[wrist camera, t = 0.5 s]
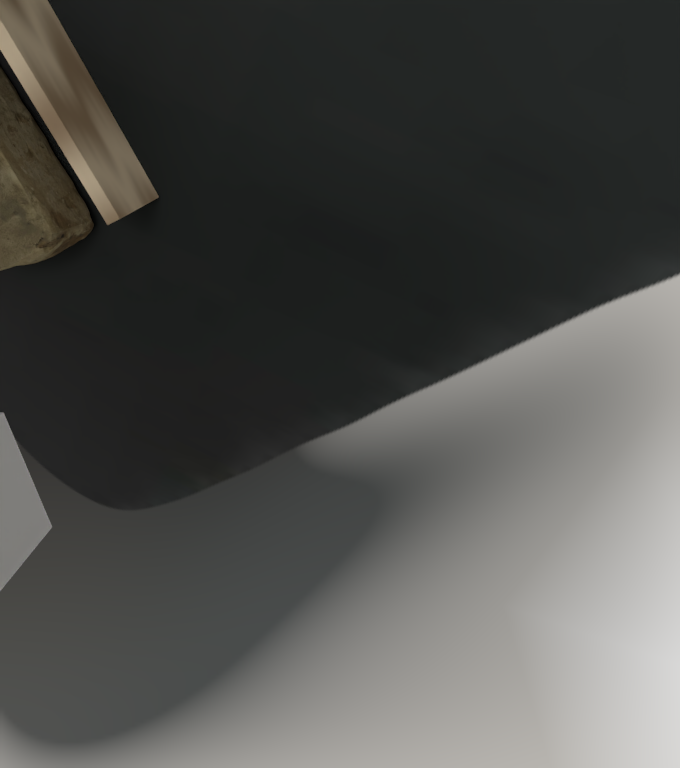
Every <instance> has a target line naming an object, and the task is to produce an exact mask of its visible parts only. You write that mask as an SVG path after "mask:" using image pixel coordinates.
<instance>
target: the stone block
mask: <svg viewBox="0 0 680 768" xmlns="http://www.w3.org/2000/svg"><path fill="white" fill-rule="evenodd" d="M93 227H94V224H93V222H92V220H91V217H90V213H89V210H88V208H87V206H86V204H85V202H84V200H83V199H82V198H81V196H80V195H79V193H78V192H77V190H76V188H75V186H74V183H73V181H72V180H71V179H70V177H69V176H68V174H67V173H66V171H65V170H64V168H63V167H62V165H61V164H60V162H59V161H58V159H57V157H56V156H55V154H54V153H53V151H52V150H51V148H50V145H49V143H48V141H47V139H46V137H45V136H44V134H43V133H42V131H41V130H40V128H39V127H38V125H37V123H36V122H35V120H34V118H33V117H32V115H31V114H30V112H29V111H28V109H27V108H26V107H25V105H24V104H23V103H22V101H21V99H20V97H19V95H18V93H17V91H16V89H15V88H14V86H13V85H12V83H11V82H10V80H9V79H8V77H7V76H6V74H5V73H4V71H3V70H2V68H1V67H0V271H1V270H4V269H8V268H11V267H14V266H19V265H28V264H34V263H37V262H40V261H43V260H46V259H48V258H51V257H53V256H55V255H57V254H59V253H60V252H62V251H63V250H65V249H67V248H68V247H70V246H72V245H74V244H76V243H77V242H78V241H80V240H82V239H84V238H85V237H86V236H87V235H88V234H89V233H90V232H91V231H92V229H93Z"/></svg>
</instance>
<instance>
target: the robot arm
mask: <svg viewBox="0 0 680 768" xmlns="http://www.w3.org/2000/svg"><path fill="white" fill-rule="evenodd" d="M51 528H52V526H51V523H50V521H49V518H48V516H47V514H46V511H45V509H44V507H43V504H42V502H41V500H40V497H39V495H38V492H37V490H36V488H35V485H34V483H33V481H32V479H31V476H30V474H29V471H28V469H27V467H26V464H25V462H24V460H23V457H22V455H21V453H20V450H19V448H18V445H17V443H16V441H15V438H14V436H13V434H12V431H11V429H10V427H9V424H8V422H7V420H6V417H5V415H4V412H3V413H0V591H1V590H2V588H3V587H4V586H5V585H6V583H7V582H8V581H9V580H10V578H11V577H12V576H13V575H14V574H15V572H16V571H17V570H18V568H19V567H20V566H21V565H22V564H23V562H24V561H25V560H26V559H27V557H28V556H29V555H30V554H31V553H32V551H33V550H34V549H35V548H36V546H37V545H38V544H39V543H40V541H41V540H42V539H43V538H44V537H45V535H46V534H47V533H48V532H49V530H50V529H51Z"/></svg>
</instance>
